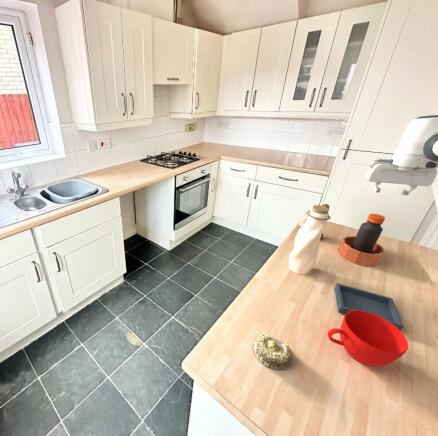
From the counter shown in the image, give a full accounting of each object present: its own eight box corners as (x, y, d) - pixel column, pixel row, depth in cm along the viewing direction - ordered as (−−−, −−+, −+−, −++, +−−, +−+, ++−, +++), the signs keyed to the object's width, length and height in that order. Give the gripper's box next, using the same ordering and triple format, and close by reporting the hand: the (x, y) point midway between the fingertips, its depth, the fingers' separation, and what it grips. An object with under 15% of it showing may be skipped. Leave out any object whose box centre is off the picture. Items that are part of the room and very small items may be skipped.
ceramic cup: (309, 329, 75) (319, 307, 70) (368, 334, 73) (383, 311, 69) (332, 372, 64) (347, 349, 59) (403, 379, 62) (423, 356, 57)
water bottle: (279, 262, 103) (297, 203, 90) (294, 258, 106) (314, 199, 93) (300, 278, 95) (323, 215, 82) (316, 272, 98) (341, 211, 84)
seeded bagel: (289, 379, 63) (294, 368, 60) (248, 360, 68) (251, 349, 65) (292, 346, 70) (297, 335, 67) (255, 331, 75) (258, 320, 72)
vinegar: (368, 256, 106) (389, 216, 97) (365, 263, 102) (387, 222, 93) (349, 249, 111) (368, 210, 101) (346, 256, 107) (365, 216, 97)
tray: (388, 303, 83) (392, 298, 82) (400, 332, 74) (404, 326, 73) (334, 288, 90) (336, 282, 89) (338, 312, 81) (341, 307, 79)
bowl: (374, 252, 109) (380, 241, 106) (381, 270, 98) (388, 258, 95) (336, 243, 115) (341, 233, 112) (340, 260, 104) (345, 248, 101)
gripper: (377, 160, 94) (362, 193, 101) (446, 164, 88) (426, 199, 94) (370, 156, 99) (357, 187, 106) (435, 160, 93) (417, 193, 99)
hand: (390, 193), depth 100 cm, fingers open, 8 cm apart
